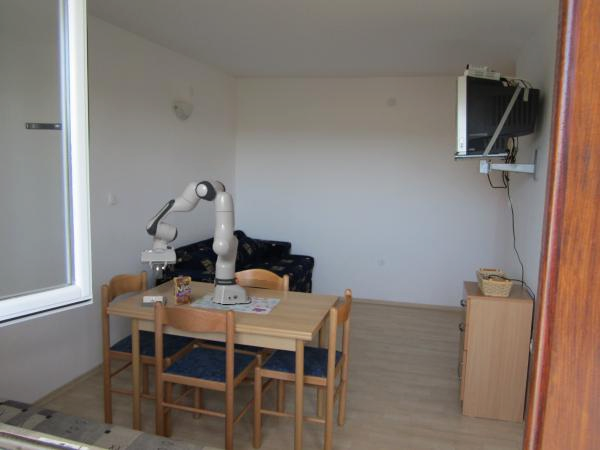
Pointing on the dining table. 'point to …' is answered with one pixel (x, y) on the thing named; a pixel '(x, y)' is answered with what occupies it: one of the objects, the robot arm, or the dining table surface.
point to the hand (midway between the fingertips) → (157, 269)
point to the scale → (152, 300)
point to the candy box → (181, 290)
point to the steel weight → (157, 271)
